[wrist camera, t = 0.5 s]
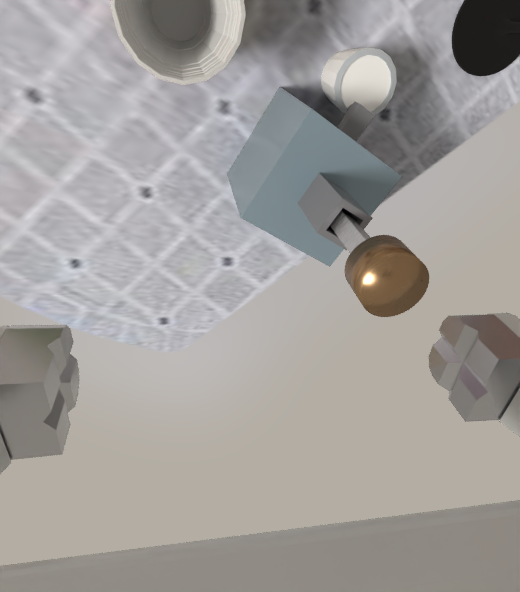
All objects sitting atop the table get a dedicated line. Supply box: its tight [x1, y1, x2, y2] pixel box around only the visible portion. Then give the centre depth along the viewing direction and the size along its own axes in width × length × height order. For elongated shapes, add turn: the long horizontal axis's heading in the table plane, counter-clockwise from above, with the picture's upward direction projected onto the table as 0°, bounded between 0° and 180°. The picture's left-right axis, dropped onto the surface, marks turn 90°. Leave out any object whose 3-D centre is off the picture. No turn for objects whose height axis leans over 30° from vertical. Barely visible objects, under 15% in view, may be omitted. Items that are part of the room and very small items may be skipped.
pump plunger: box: [330, 211, 429, 317], centre depth 32 cm, size 5×5×11 cm
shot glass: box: [321, 47, 397, 116], centre depth 46 cm, size 7×7×7 cm
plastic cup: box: [110, 0, 246, 85], centre depth 38 cm, size 11×11×12 cm
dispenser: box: [227, 87, 402, 266], centre depth 44 cm, size 15×12×21 cm
